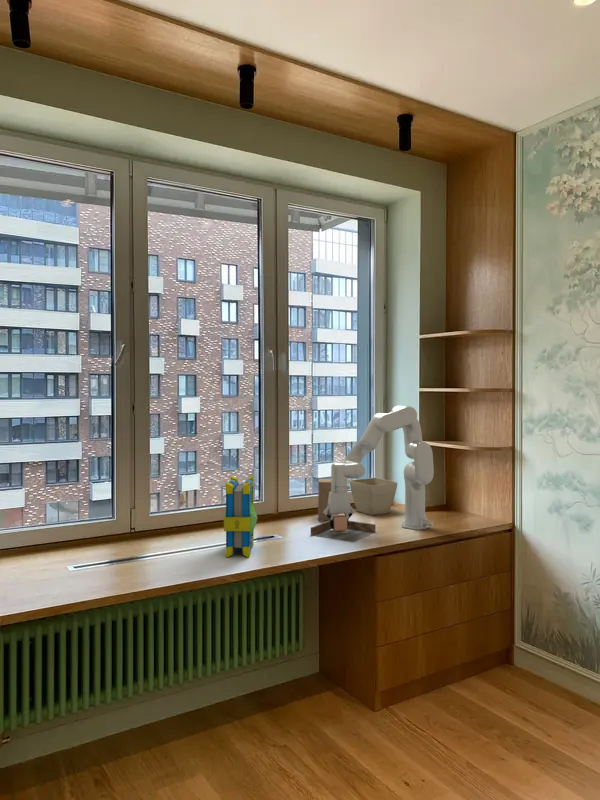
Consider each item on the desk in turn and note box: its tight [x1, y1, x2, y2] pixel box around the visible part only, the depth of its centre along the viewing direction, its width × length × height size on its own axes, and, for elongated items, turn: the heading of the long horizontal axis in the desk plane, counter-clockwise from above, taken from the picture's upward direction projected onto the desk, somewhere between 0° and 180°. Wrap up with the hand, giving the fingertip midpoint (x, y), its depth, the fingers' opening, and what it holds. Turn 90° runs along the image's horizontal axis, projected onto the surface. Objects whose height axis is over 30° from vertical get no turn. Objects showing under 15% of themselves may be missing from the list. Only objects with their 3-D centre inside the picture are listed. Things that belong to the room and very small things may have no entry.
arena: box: [310, 520, 377, 543], centre depth 283 cm, size 22×22×4 cm
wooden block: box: [317, 478, 339, 522], centre depth 315 cm, size 10×10×20 cm
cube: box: [333, 514, 347, 531], centre depth 287 cm, size 6×6×6 cm
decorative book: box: [222, 475, 259, 558], centre depth 255 cm, size 14×23×30 cm, turn 0°
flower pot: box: [349, 477, 398, 516], centre depth 332 cm, size 19×19×17 cm
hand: (339, 527), depth 288 cm, fingers closed on cube, 6 cm apart
